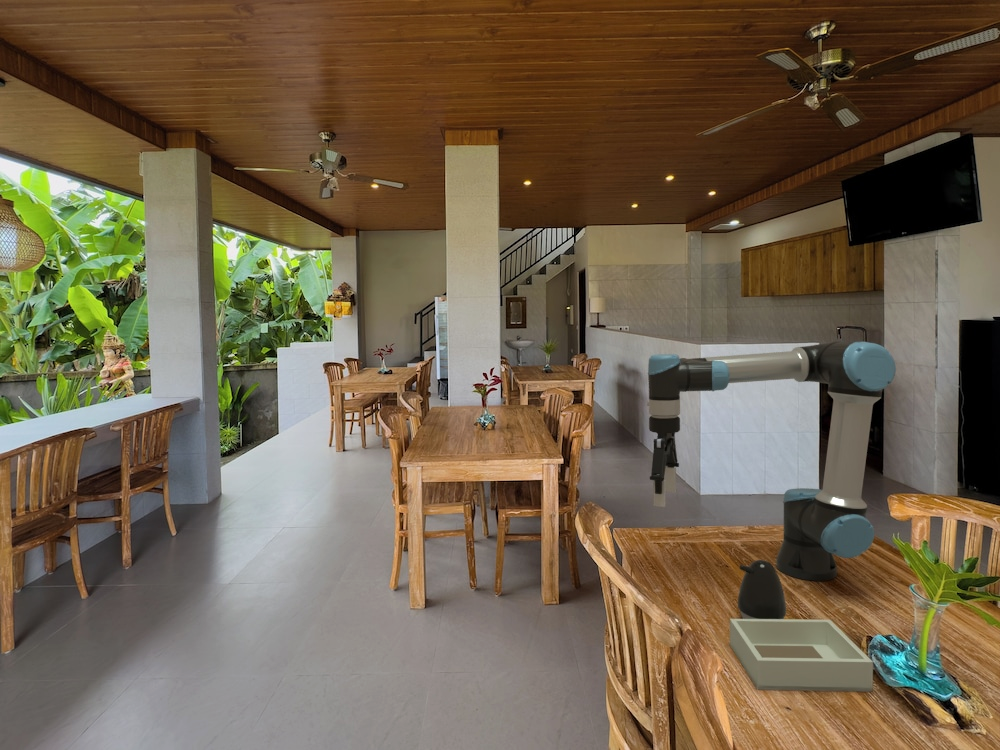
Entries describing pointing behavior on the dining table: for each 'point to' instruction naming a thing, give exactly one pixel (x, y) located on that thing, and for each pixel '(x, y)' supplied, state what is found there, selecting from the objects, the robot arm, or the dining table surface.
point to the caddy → (800, 655)
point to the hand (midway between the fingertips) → (665, 498)
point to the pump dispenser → (761, 592)
